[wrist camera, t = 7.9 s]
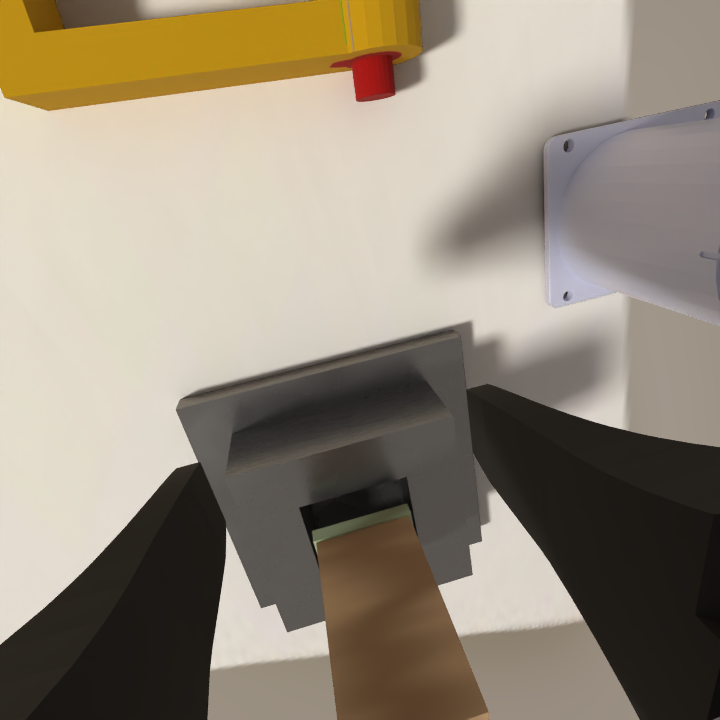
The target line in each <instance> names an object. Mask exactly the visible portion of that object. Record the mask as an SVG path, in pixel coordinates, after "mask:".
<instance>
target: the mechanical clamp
mask: <svg viewBox="0 0 720 720" xmlns="http://www.w3.org/2000/svg"><path fill="white" fill-rule="evenodd" d="M422 51H423V46H422V32H421V18H420V4H419V0H312V1H308V2H299V3H291V4H282V5H273V6H264V7H255V8H247V9H238V10H229V11H220V12H212V13H203V14H194V15H185V16H177V17H168V18H159V19H150V20H141V21H133V22H124V23H115V24H106V25H98V26H89V27H80V28H71V29H64V26H63V23H62V20H61V17H60V14H59V11H58V8H57V5H56V3H55V0H0V88H1V90H2V92H3V95H4V97H5V98H8V99H11V100H14V101H17V102H21V103H24V104H27V105H31V106H34V107H37V108H41V109H44V110H47V111H51V110H58V109H66V108H73V107H81V106H88V105H96V104H103V103H111V102H118V101H126V100H133V99H141V98H148V97H156V96H163V95H171V94H178V93H186V92H193V91H201V90H208V89H216V88H224V87H231V86H239V85H246V84H254V83H261V82H269V81H276V80H284V79H291V78H299V77H306V76H314V75H321V74H329V73H336V72H344V71H351V70H352V71H353V79H354V87H355V94H356V101H358V102H365V101H373V100H379V99H384V98H388V97H391V96H394V95H395V84H394V73H393V65H396V64H399V63H402V62H405V61H408V60H410V59H412V58H414V57H416V56H418V55H419V54H421V52H422Z"/></svg>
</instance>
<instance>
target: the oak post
mask: <svg viewBox="0 0 720 720" xmlns="http://www.w3.org/2000/svg"><path fill="white" fill-rule="evenodd" d="M312 535H313V543H314V546H315V549H316V552H317V555H318V562H319V571H320V579H321V587H322V595H323V604H324V612H325V620H326V629H327V637H328V645H329V654H330V662H331V669H332V679H333V687H334V695H335V703H336V711H337V720H490V719H489V712H488V709H487V707H486V704H485V702H484V699H483V697H482V694H481V692H480V689H479V687H478V684H477V682H476V679H475V677H474V675H473V672H472V670H471V667H470V665H469V662H468V660H467V657H466V655H465V652H464V650H463V647H462V645H461V642H460V640H459V638H458V635H457V633H456V630H455V628H454V625H453V623H452V620H451V618H450V615H449V613H448V610H447V608H446V606H445V603H444V601H443V598H442V596H441V593H440V591H439V588H438V586H437V583H436V581H435V578H434V576H433V573H432V571H431V569H430V566H429V564H428V561H427V559H426V556H425V554H424V551H423V549H422V546H421V544H420V541H419V539H418V537H417V534H416V532H415V529H414V527H413V521H412V516H411V512H410V510H409V507H408V505H407V504H403V505H400V506H396V507H393V508H390V509H386V510H383V511H379V512H376V513H372V514H369V515H365V516H362V517H359V518H355V519H352V520H348V521H345V522H341V523H338V524H335V525H331V526H328V527H324V528H321V529H317V530H314V531H312Z"/></svg>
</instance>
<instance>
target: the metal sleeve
mask: <svg viewBox="0 0 720 720" xmlns="http://www.w3.org/2000/svg"><path fill="white" fill-rule="evenodd" d="M176 411H177V414H178V416H179V418H180V421H181V423H182V425H183V428H184V430H185V432H186V435H187V437H188V439H189V442H190V444H191V446H192V449H193V451H194V453H195V456H196V458H197V460H198V462H201V465H202V467H203V469H204V472H205V474H206V476H207V479H208V481H209V483H210V486H211V488H212V490H213V493H214V495H215V497H216V500H217V502H218V504H219V506H220V509H221V511H222V513H223V516H224V518H225V520H226V527H227V530H228V532H229V534H230V537H231V539H232V541H233V544H234V546H235V548H236V551H237V553H238V555H239V558H240V560H241V562H242V565H243V567H244V569H245V572H246V574H247V576H248V579H249V581H250V583H251V586H252V588H253V590H254V592H255V595H256V597H257V599H258V602H259V604H260V606H261V608H264V607H267V606H270V605H274V604H276V606H277V608H278V611H279V613H280V616H281V618H282V620H283V623H284V625H285V628H286V630H287V632H290V631H293V630H296V629H300V628H303V627H306V626H309V625H313V624H316V623H319V622H322V621H325V612H324V604H323V595H322V587H321V579H320V571H319V562H318V555H317V552H316V549H315V546H314V543H313V535H312V531H314V530H317V529H321V528H324V527H328V526H331V525H335V524H338V523H341V522H345V521H348V520H352V519H355V518H359V517H362V516H365V515H369V514H372V513H376V512H379V511H383V510H386V509H390V508H393V507H396V506H400V505H403V504H407V505H408V507H409V510H410V512H411V516H412V521H413V527H414V529H415V532H416V534H417V537H418V539H419V541H420V544H421V546H422V549H423V551H424V554H425V556H426V559H427V561H428V564H429V566H430V569H431V571H432V573H433V576H434V578H435V581H436V583H437V586H438V585H441V584H444V583H448V582H451V581H454V580H457V579H460V578H464V577H467V576H470V575H473V574H472V566H471V558H470V549H469V545H471V544H474V543H477V542H481V541H482V537H481V527H480V518H479V508H478V498H477V489H476V479H475V469H474V460H473V450H472V441H471V431H470V422H469V413H468V403H467V394H466V383H465V373H464V363H463V354H462V344H461V336H460V335H458V334H457V333H456V332H455V331H454V330H451V331H447V332H443V333H439V334H435V335H431V336H427V337H423V338H420V339H416V340H412V341H408V342H404V343H400V344H396V345H392V346H388V347H384V348H380V349H376V350H373V351H369V352H365V353H361V354H357V355H353V356H349V357H345V358H341V359H337V360H333V361H329V362H326V363H322V364H318V365H314V366H310V367H306V368H302V369H298V370H294V371H290V372H286V373H282V374H278V375H275V376H271V377H267V378H263V379H259V380H255V381H251V382H247V383H243V384H239V385H235V386H231V387H228V388H224V389H220V390H216V391H212V392H208V393H204V394H200V395H196V396H192V397H188V398H184V399H181V400H180V401H179V403H178V405H177V408H176Z"/></svg>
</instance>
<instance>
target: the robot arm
mask: <svg viewBox="0 0 720 720" xmlns="http://www.w3.org/2000/svg"><path fill="white" fill-rule="evenodd" d="M705 112H707V117H706V119H704V115H705ZM566 140H567V141H568V144H569V147H568V149H567V151H566V152H565V151H564V148H563V146H564V143H565V141H566ZM543 154H544V219H545V284H546V302H547V304H548V305H550V306H552V307H554V308H558V307H562V306H566V305H570V304H574V303H578V302H582V301H586V300H589V299H593V298H597V297H601V296H605V295H609V294H613V293H617V292H618V293H621V294H624V295H627V296H630V297H633V298H636V299H639V300H642V301H645V302H648V303H651V304H654V305H657V306H660V307H663V308H667V309H670V310H673V311H676V312H679V313H682V314H685V315H688V316H691V317H694V318H697V319H700V320H703V321H706V322H709V323H712V324H715V325H718V326H720V100H719V101H714V102H710V103H705V104H701V105H696V106H691V107H687V108H682V109H677V110H673V111H668V112H664V113H659V114H655V115H650V116H645V117H641V118H636V119H631V120H626V121H622V122H617V123H613V124H608V125H603V126H599V127H594V128H590V129H585V130H580V131H576V132H571V133H567V134H562V135H557V136H553V137H551V138H549V139H548V140H547V141H546V143H545V145H544V151H543ZM565 292H568V295H567V297H566V298H565V299H563V295H564V294H565ZM466 394H467V403H468V413H469V422H470V431H471V441H472V450H473V453H474V455H475V456H476V458H477V460H478V462H479V464H480V466H481V467H482V469H483V471H484V473H485V474H486V476H487V478H488V479H489V481H490V483H491V484H492V485H493V487H494V488H495V489H496V491H497V492H498V493H499V495H500V496H501V497H502V499H503V500H504V501H505V503H506V504H507V505H508V507H509V508H510V509H511V511H512V512H513V513H514V515H515V516H516V517H517V519H518V520H519V521H520V523H521V524H522V525H523V526H524V528H525V529H526V530H527V532H528V533H529V534H530V536H531V537H532V538H533V540H534V541H535V542H536V544H537V545H538V546H539V548H540V549H541V550H542V552H543V553H544V555H545V556H546V558H547V559H548V561H549V562H550V563H551V565H552V567H553V568H554V570H555V572H556V573H557V575H558V576H559V578H560V580H561V581H562V583H563V585H564V586H565V588H566V590H567V591H568V593H569V594H570V596H571V598H572V599H573V601H574V603H575V604H576V606H577V608H578V610H579V611H580V613H581V615H582V616H583V618H584V620H585V622H586V623H587V625H588V627H589V628H590V630H591V632H592V634H593V635H594V637H595V639H596V640H597V642H598V644H599V646H600V647H601V649H602V651H603V653H604V655H605V656H606V658H607V660H608V662H609V664H610V666H611V667H612V669H613V671H614V673H615V674H616V676H617V678H618V680H619V682H620V683H621V685H622V687H623V689H624V691H625V692H626V694H627V696H628V698H629V700H630V702H631V704H632V706H633V708H634V709H635V711H636V713H637V715H638V717H639V719H640V720H720V447H714V446H707V445H699V444H692V443H686V442H681V441H675V440H669V439H663V438H658V437H653V436H647V435H643V434H638V433H634V432H630V431H626V430H622V429H618V428H614V427H610V426H606V425H602V424H599V423H595V422H592V421H589V420H586V419H583V418H579V417H576V416H573V415H570V414H567V413H564V412H561V411H558V410H556V409H553V408H550V407H547V406H545V405H542V404H539V403H537V402H534V401H532V400H529V399H526V398H524V397H521V396H519V395H516V394H514V393H511V392H509V391H506V390H503V389H501V388H498V387H495V386H492V385H489V384H486V385H482V386H478V387H474V388H471V389H467V390H466ZM225 559H226V520H225V518H224V516H223V513H222V511H221V509H220V506H219V504H218V502H217V500H216V497H215V495H214V493H213V490H212V488H211V486H210V483H209V481H208V479H207V476H206V474H205V472H204V469H203V467H202V465H201V462H198V463H195V464H191V465H187V466H184V467H180V468H176V469H175V470H174V471H173V472H172V473H171V475H170V476H169V477H168V478H167V479H166V480H165V481H164V482H163V484H162V485H161V486H160V487H159V488H158V489H157V491H156V492H155V493H154V494H153V495H152V497H151V498H150V499H149V500H148V501H147V502H146V504H145V505H144V506H143V507H142V508H141V509H140V511H139V512H138V513H137V514H136V515H135V516H134V518H133V519H132V520H131V521H130V522H129V523H128V525H127V526H126V527H125V528H124V529H123V530H122V531H121V532H120V533H119V534H118V536H117V537H116V538H115V539H114V540H113V541H112V542H111V543H110V544H109V545H108V546H107V547H106V548H105V550H104V551H103V552H102V553H101V554H100V555H99V556H98V557H97V558H96V559H95V560H94V561H93V562H92V563H91V564H90V565H89V566H88V567H87V568H86V569H85V570H84V571H83V572H82V573H81V574H80V575H79V576H78V577H77V578H76V579H75V580H74V581H73V582H72V583H71V584H70V585H69V586H68V587H67V588H66V589H65V590H63V591H62V592H61V593H60V594H59V595H58V596H57V597H56V598H55V599H54V600H53V601H52V602H50V603H49V604H48V605H47V606H46V607H45V608H44V609H43V610H41V611H40V612H39V613H38V614H37V615H35V616H34V617H33V618H32V619H31V620H29V621H28V622H27V623H26V624H25V625H23V626H22V627H21V628H20V629H19V630H17V631H16V632H15V633H14V634H13V635H11V636H10V637H9V638H8V639H7V640H5V641H4V642H3V643H2V644H1V645H0V720H207V715H208V696H209V677H210V664H211V655H212V647H213V640H214V634H215V627H216V620H217V614H218V607H219V601H220V594H221V588H222V581H223V574H224V567H225Z"/></svg>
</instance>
